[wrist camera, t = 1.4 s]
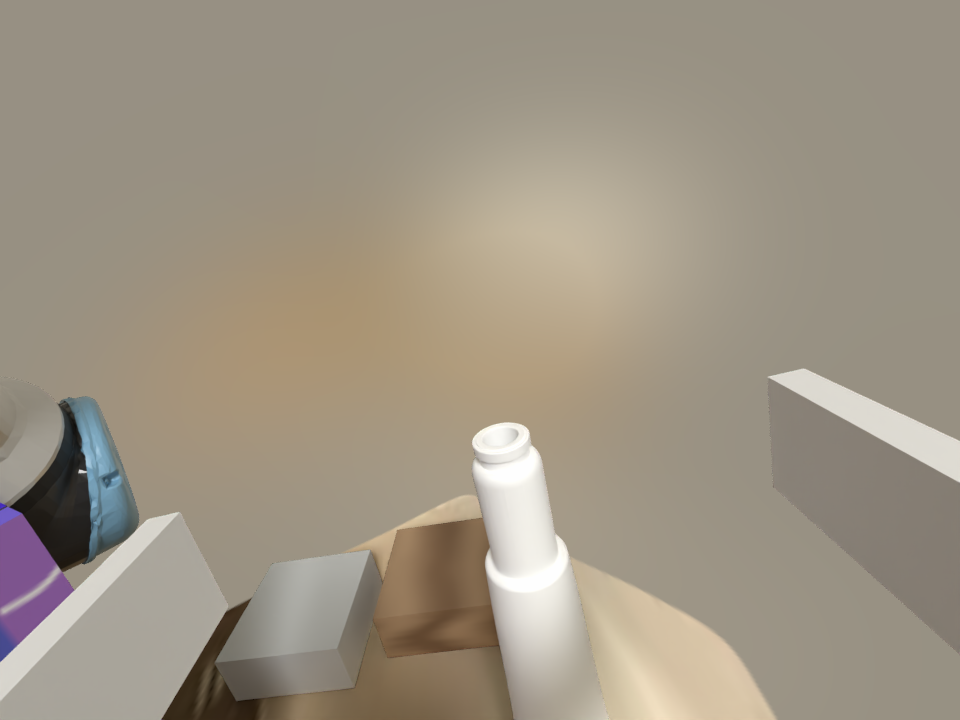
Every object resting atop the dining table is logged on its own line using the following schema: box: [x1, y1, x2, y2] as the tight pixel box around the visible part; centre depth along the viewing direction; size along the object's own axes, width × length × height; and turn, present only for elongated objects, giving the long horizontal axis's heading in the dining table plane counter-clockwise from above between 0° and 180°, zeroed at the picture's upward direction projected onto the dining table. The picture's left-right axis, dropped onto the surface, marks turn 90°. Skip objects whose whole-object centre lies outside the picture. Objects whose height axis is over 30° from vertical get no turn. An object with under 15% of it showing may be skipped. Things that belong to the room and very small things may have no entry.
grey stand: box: [215, 550, 383, 701], centre depth 37 cm, size 9×9×4 cm
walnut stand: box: [373, 518, 499, 658], centre depth 38 cm, size 9×9×4 cm
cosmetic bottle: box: [472, 423, 609, 720], centre depth 22 cm, size 6×6×22 cm
